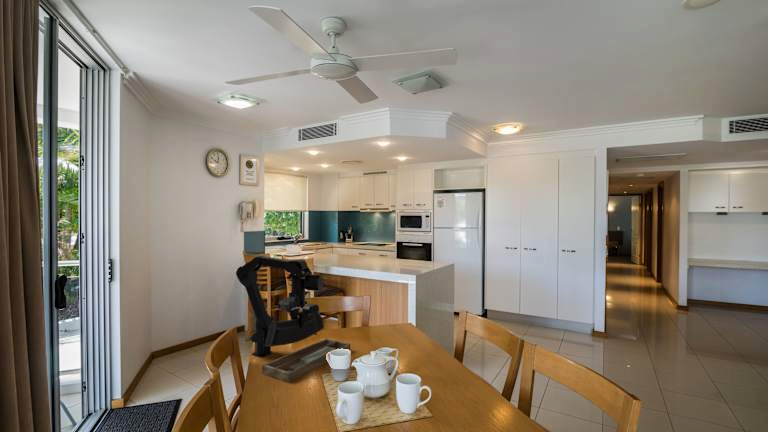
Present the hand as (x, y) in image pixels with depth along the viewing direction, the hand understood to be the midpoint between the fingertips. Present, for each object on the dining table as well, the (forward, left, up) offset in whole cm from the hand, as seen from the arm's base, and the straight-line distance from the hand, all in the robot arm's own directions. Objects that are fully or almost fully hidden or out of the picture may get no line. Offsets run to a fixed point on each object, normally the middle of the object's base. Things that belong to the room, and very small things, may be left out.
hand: (297, 326), depth 151 cm
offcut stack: (+10, 0, -14) cm, 17 cm away
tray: (+6, 0, -13) cm, 14 cm away
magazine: (0, -1, -6) cm, 6 cm away
